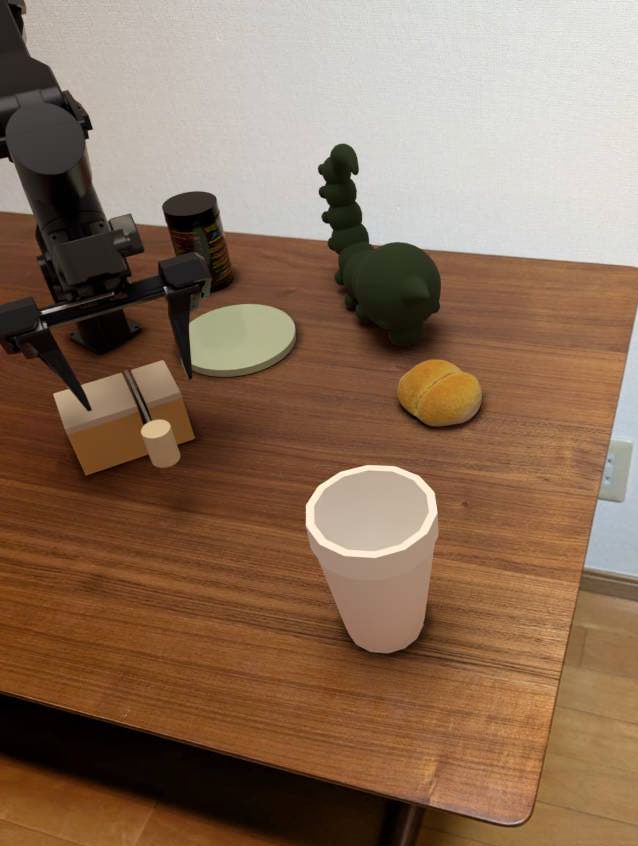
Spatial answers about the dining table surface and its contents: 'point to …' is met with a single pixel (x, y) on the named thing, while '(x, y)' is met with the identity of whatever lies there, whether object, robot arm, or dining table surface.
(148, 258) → the dining table surface
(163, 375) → the cake slice
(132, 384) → the knife
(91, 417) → the cake
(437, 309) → the toy figurine
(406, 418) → the dining table surface
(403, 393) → the bread roll
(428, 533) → the foam cup
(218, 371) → the plate
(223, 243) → the supplement container
